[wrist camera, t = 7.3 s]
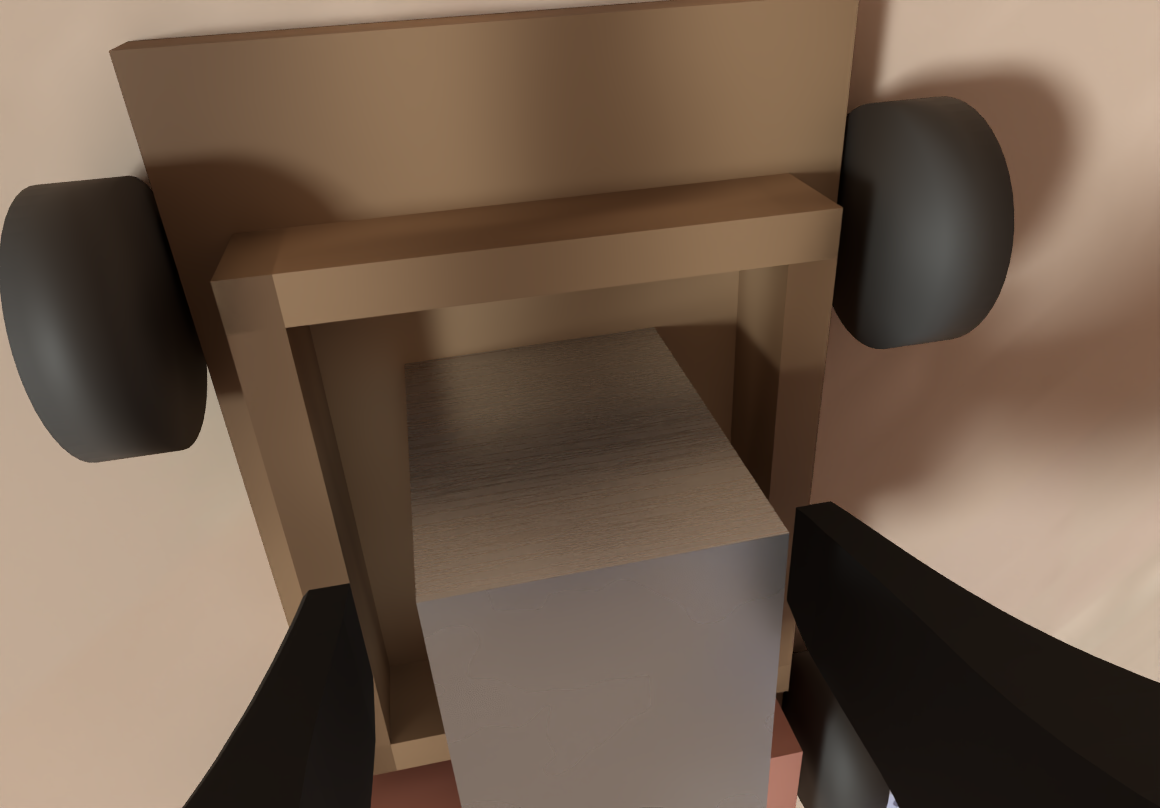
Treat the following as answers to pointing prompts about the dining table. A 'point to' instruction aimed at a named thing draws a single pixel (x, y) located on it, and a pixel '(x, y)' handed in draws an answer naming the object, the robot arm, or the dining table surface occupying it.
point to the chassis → (495, 275)
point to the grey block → (592, 579)
